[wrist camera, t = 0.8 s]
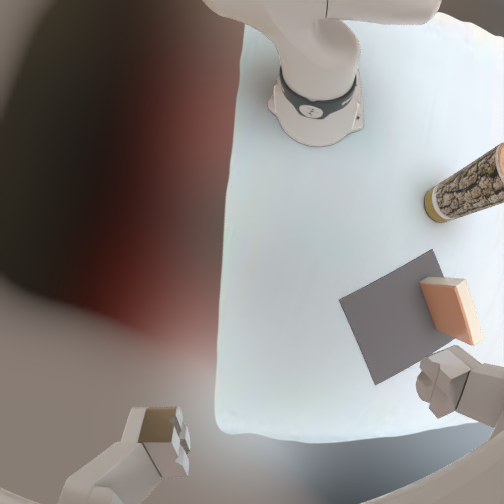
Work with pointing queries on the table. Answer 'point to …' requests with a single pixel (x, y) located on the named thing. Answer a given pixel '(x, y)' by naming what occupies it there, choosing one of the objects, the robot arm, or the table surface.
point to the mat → (395, 319)
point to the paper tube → (469, 188)
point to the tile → (452, 308)
